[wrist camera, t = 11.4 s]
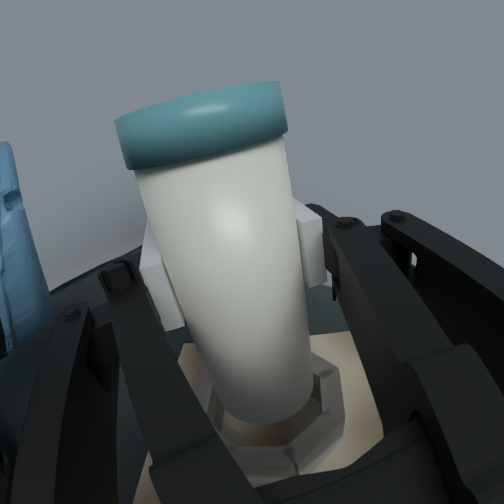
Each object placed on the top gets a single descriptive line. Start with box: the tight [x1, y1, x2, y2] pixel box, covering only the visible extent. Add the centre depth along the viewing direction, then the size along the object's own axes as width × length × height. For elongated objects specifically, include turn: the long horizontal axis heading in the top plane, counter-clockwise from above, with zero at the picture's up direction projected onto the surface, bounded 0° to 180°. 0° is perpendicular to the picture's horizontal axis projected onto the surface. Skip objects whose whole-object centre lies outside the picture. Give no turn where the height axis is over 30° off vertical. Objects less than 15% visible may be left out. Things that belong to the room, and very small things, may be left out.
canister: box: [114, 81, 313, 424], centre depth 12 cm, size 5×5×14 cm
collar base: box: [133, 331, 383, 504], centre depth 18 cm, size 16×16×5 cm
